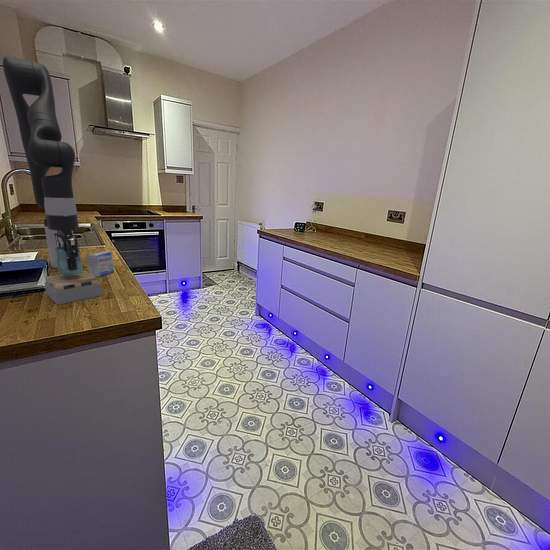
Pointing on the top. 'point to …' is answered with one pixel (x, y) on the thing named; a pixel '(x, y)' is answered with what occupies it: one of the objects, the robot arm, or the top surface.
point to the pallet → (71, 280)
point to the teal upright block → (63, 262)
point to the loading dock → (73, 292)
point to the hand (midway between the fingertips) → (70, 267)
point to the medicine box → (100, 263)
